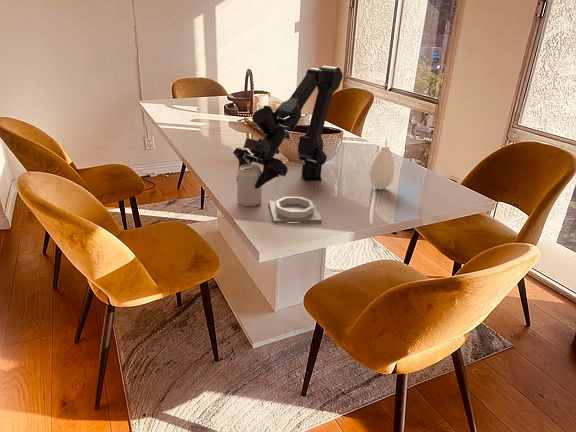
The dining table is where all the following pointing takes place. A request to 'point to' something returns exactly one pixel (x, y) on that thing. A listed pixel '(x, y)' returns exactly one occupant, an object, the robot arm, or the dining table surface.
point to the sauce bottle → (382, 168)
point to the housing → (294, 210)
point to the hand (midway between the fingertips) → (246, 184)
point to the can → (248, 185)
